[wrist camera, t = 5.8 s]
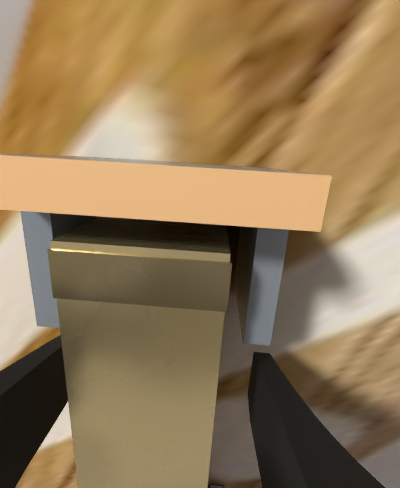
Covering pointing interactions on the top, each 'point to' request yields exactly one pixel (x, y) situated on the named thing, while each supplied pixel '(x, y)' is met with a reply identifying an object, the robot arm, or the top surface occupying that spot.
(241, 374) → the top surface
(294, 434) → the robot arm
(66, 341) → the tan rectangular post
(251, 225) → the socket
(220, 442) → the top surface
